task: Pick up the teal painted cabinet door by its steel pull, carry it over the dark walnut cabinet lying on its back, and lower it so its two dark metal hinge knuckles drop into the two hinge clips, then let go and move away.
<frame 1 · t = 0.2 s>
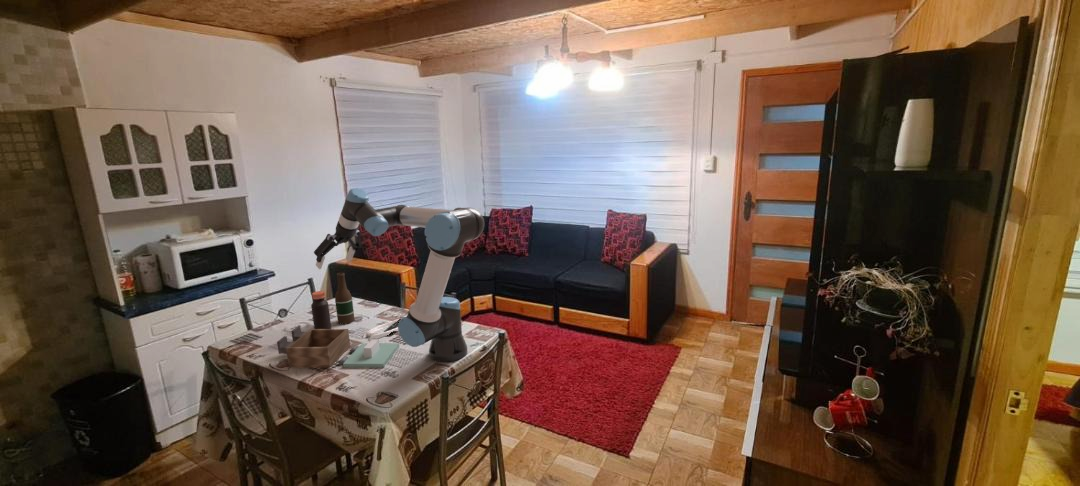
hand: (333, 263, 193), 35 cm above the table, tool tilted 35°, fingers open, 13 cm apart
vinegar: (323, 336, 209), on the table
beer bottle: (346, 322, 224), on the table
cabinet: (321, 356, 188), on the table
door: (372, 356, 187), on the table
door handle: (390, 331, 213), on the table
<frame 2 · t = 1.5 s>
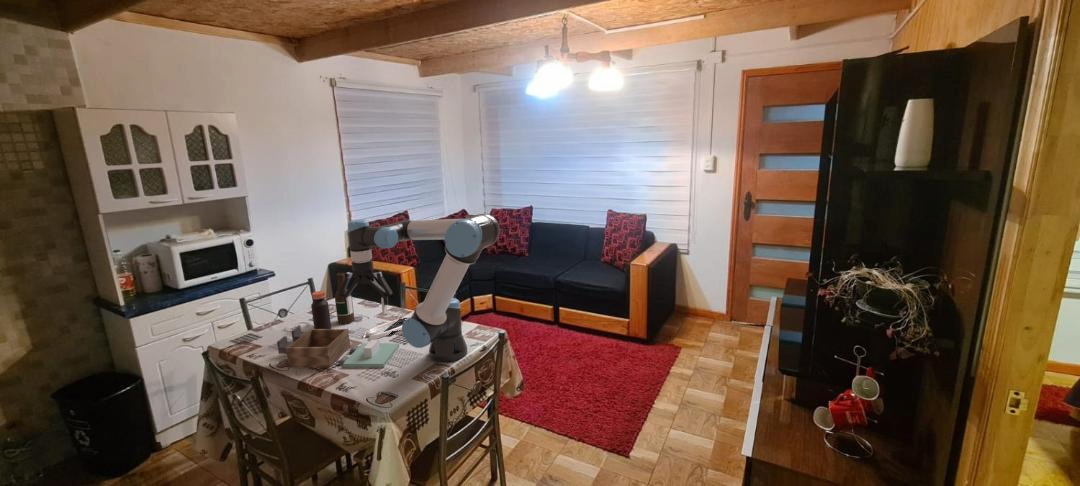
hand: (367, 312, 183), 18 cm above the table, tool pointing down, fingers open, 13 cm apart
nothing on the table moved.
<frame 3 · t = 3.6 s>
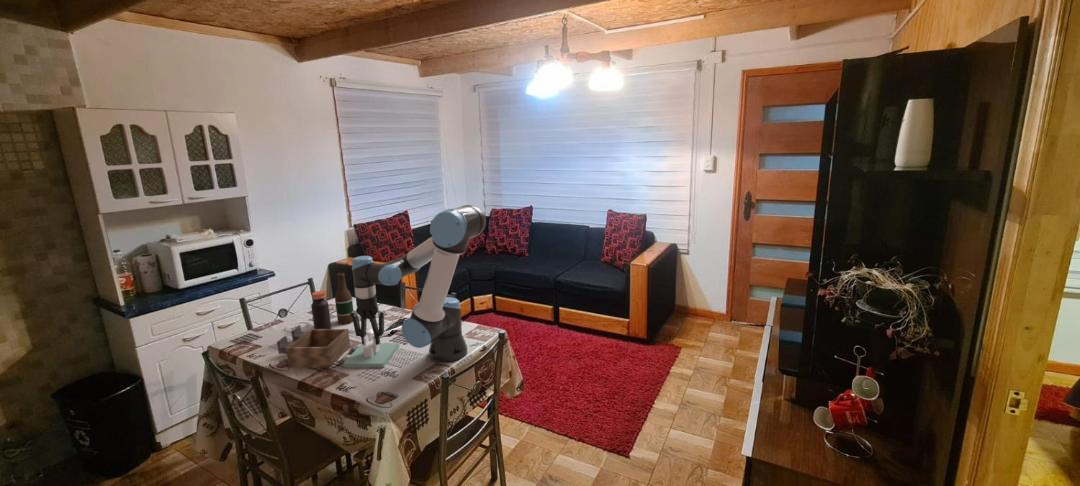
hand: (372, 351, 187), 2 cm above the table, tool pointing down, fingers closed on door, 3 cm apart
door: (372, 356, 187), on the table, touching gripper
everything else where it was.
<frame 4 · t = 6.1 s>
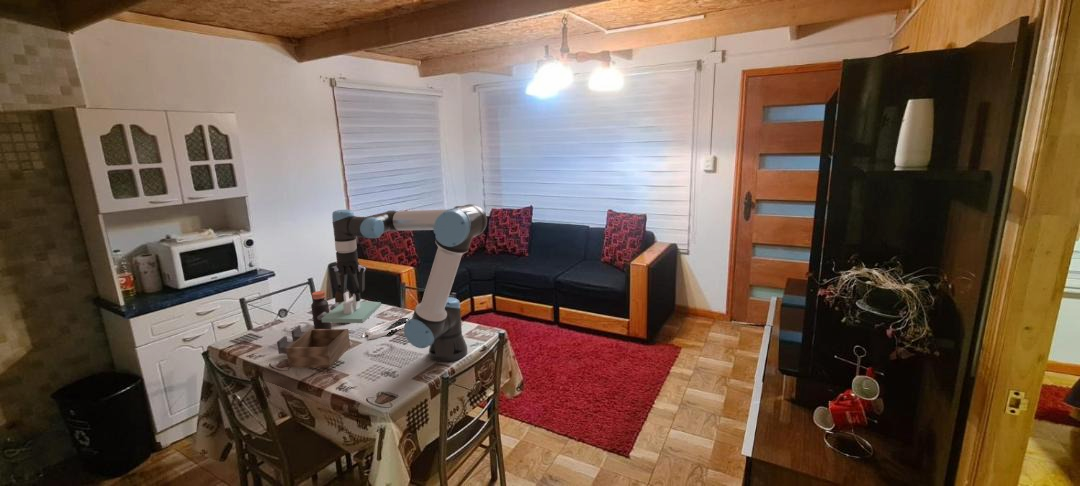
hand: (352, 308, 183), 20 cm above the table, tool pointing down, fingers closed on door, 3 cm apart
door: (352, 313, 184), point 18 cm above the table, touching gripper
everything else where it was.
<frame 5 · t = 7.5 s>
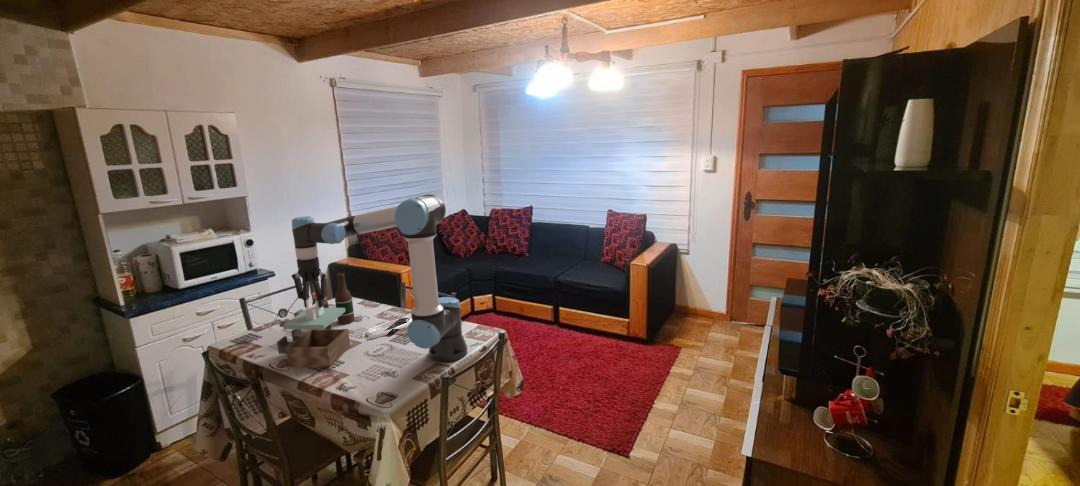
hand: (315, 314, 184), 18 cm above the table, tool pointing down, fingers closed on door, 3 cm apart
door: (315, 319, 185), point 16 cm above the table, touching gripper
everything else where it was.
when the fingers open (11 cm above the table, at t = 8.7 s): door stays where it is, resting on cabinet.
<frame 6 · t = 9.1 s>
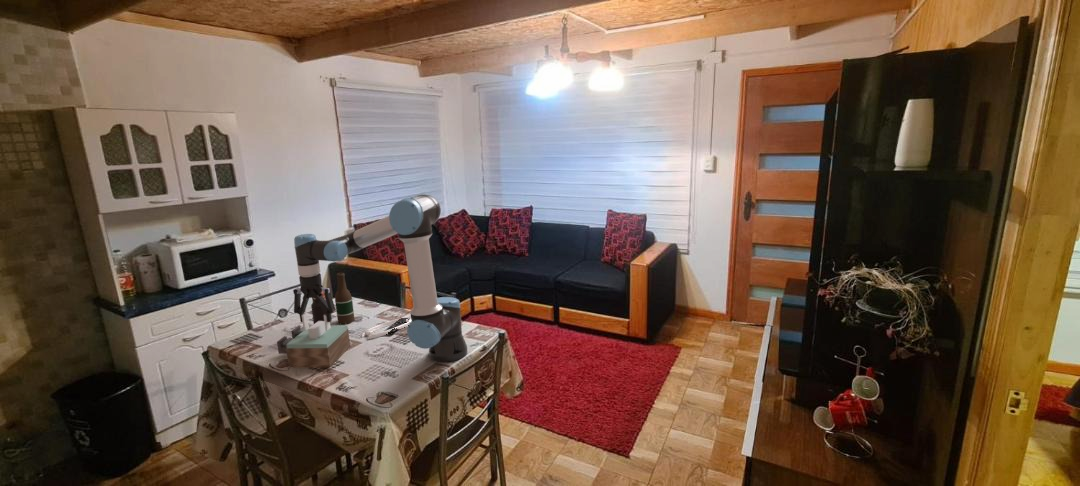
hand: (317, 329, 186), 12 cm above the table, tool pointing down, fingers open, 8 cm apart
door: (318, 338, 186), point 8 cm above the table, touching cabinet
everything else where it was.
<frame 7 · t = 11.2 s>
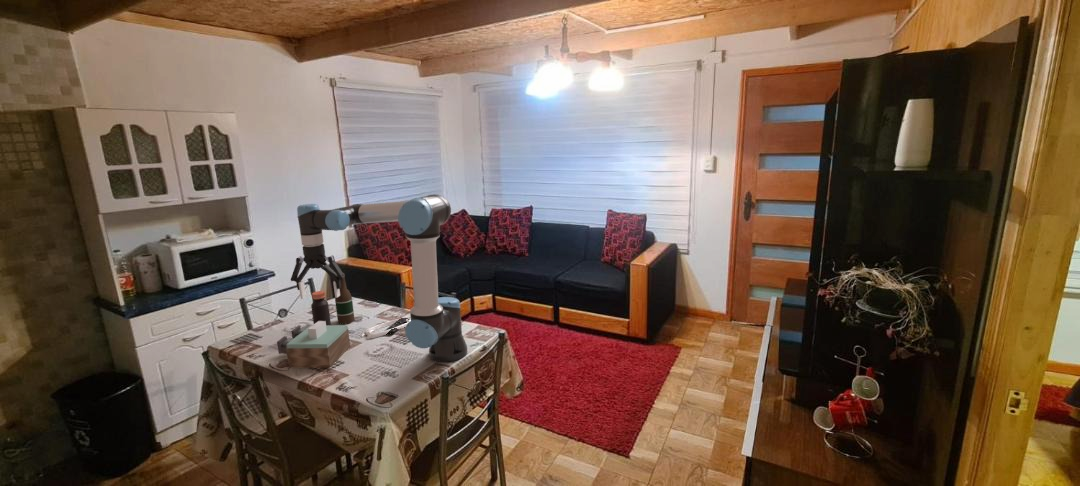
hand: (320, 297, 185), 24 cm above the table, tool pointing down, fingers open, 13 cm apart
nothing on the table moved.
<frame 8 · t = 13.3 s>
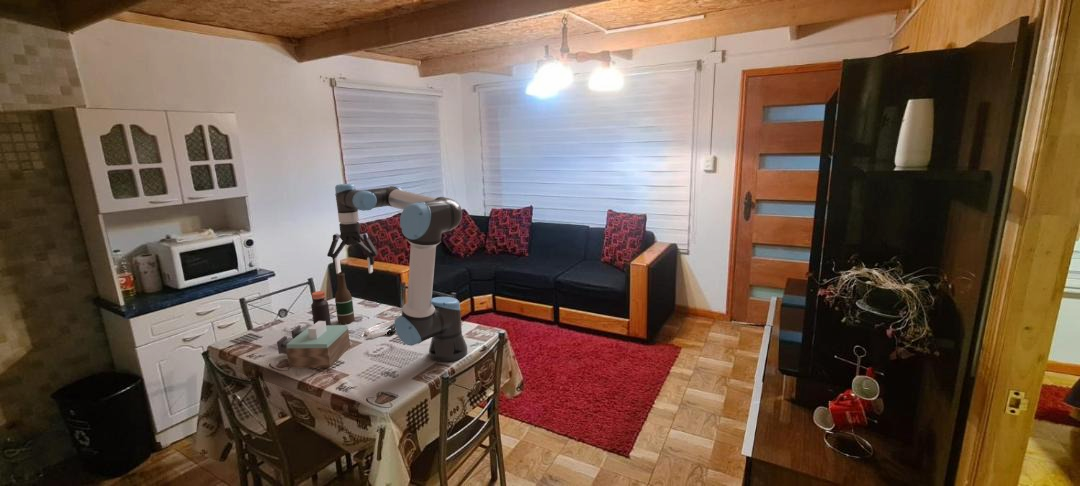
hand: (354, 272, 195), 31 cm above the table, tool pointing down, fingers open, 13 cm apart
at the end: door 0.1 cm off-centre on the cabinet, point 8.0 cm above the cabinet's base; door tilted 0°; the gripper is holding nothing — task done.
